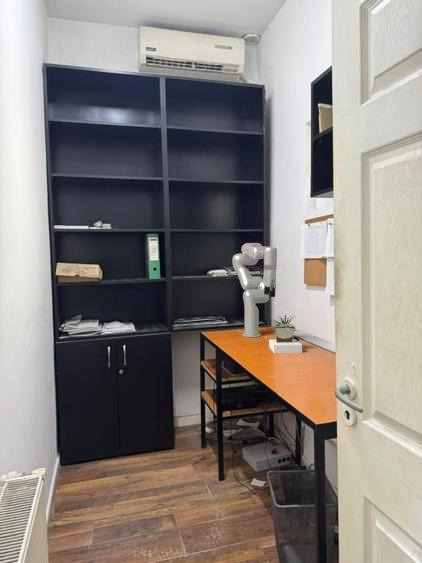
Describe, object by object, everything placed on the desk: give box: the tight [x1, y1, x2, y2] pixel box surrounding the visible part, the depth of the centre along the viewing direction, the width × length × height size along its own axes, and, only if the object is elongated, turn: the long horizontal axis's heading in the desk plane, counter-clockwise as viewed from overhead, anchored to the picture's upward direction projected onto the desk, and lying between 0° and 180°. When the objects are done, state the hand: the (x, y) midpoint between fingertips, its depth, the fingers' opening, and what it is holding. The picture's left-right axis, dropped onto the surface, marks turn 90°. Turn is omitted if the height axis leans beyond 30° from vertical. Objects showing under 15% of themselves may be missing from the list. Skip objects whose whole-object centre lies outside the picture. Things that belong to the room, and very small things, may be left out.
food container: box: [273, 323, 296, 343], centre depth 225 cm, size 12×6×10 cm, turn 90°
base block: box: [268, 338, 303, 354], centre depth 223 cm, size 14×16×5 cm
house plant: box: [273, 314, 297, 326], centre depth 249 cm, size 14×14×16 cm
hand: (269, 295), depth 233 cm, fingers open, 9 cm apart
